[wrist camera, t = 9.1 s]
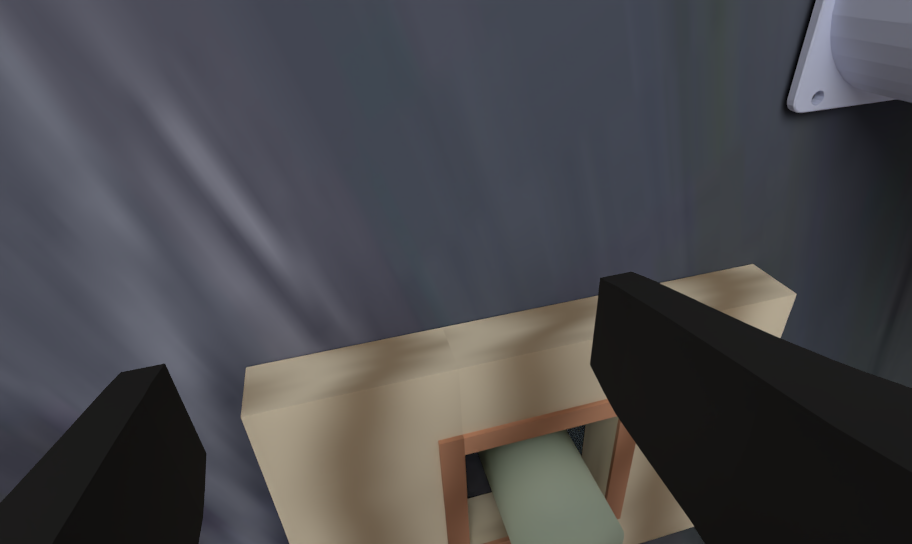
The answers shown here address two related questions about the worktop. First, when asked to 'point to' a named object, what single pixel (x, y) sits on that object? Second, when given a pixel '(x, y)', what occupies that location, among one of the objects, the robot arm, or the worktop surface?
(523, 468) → the green peg
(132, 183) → the worktop surface
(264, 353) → the worktop surface
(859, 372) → the robot arm
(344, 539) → the hole plate
